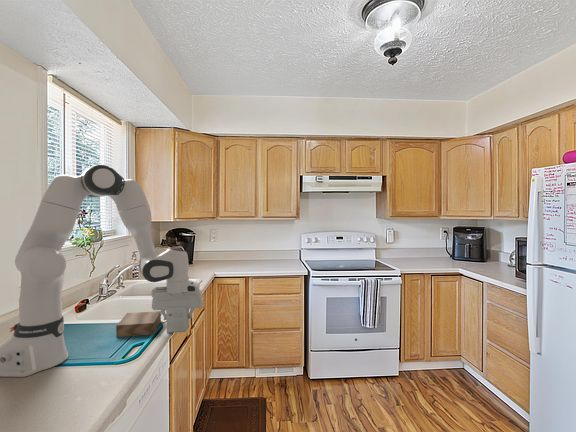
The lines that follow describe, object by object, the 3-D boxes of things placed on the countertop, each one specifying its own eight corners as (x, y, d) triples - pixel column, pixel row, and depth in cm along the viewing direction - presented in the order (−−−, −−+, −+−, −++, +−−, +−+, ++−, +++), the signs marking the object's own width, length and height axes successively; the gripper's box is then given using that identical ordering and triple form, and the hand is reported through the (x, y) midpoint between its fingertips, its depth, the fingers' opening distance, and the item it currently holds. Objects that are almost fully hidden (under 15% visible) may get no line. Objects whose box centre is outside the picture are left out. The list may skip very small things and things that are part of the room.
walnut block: (116, 337, 123) (116, 325, 123) (127, 324, 137) (127, 313, 136) (153, 335, 126) (153, 322, 125) (160, 322, 139) (160, 311, 139)
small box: (189, 327, 133) (189, 303, 133) (186, 332, 127) (185, 307, 127) (170, 327, 132) (170, 303, 132) (166, 332, 127) (165, 307, 126)
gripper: (149, 289, 124) (149, 323, 125) (201, 287, 128) (202, 320, 129) (153, 285, 131) (153, 317, 131) (203, 283, 134) (203, 314, 135)
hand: (178, 318), depth 130 cm, fingers closed on small box, 8 cm apart
